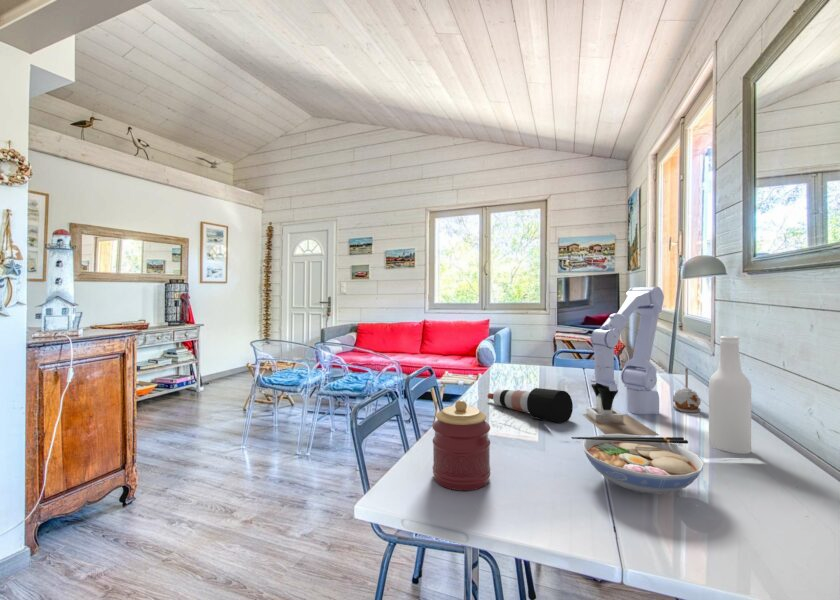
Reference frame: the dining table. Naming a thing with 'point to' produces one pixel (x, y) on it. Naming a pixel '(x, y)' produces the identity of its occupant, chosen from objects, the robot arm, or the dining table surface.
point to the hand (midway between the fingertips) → (604, 408)
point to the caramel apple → (686, 398)
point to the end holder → (604, 416)
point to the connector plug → (599, 406)
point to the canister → (461, 448)
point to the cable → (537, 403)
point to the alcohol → (730, 401)
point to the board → (623, 427)
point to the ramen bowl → (643, 461)
